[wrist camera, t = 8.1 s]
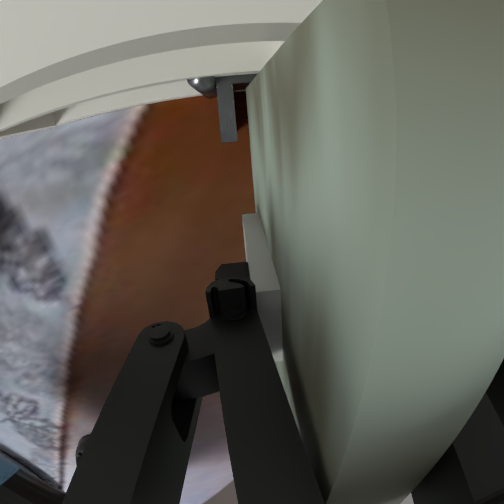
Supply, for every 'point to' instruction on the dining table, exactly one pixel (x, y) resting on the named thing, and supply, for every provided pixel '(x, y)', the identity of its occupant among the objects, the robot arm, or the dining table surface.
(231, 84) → the hinge clip
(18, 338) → the dining table surface
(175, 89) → the cabinet
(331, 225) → the cabinet door
